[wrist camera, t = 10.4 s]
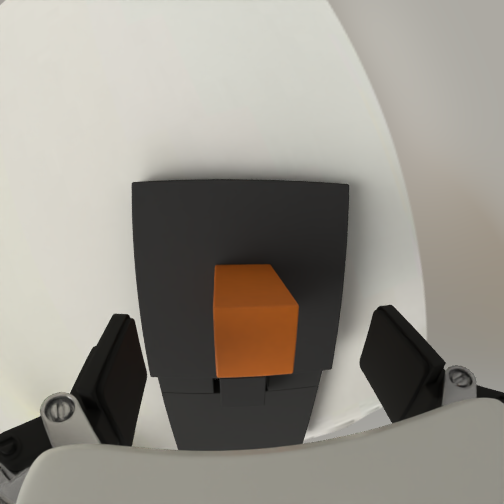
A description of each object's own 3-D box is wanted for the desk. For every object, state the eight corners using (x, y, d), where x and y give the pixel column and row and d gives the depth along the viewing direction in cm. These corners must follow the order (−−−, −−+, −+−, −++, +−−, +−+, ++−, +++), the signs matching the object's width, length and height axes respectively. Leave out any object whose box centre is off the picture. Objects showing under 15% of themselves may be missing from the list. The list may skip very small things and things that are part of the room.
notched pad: (299, 433, 24) (302, 444, 23) (179, 439, 23) (178, 451, 22) (319, 344, 21) (325, 356, 19) (157, 350, 19) (154, 363, 18)
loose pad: (320, 386, 20) (356, 456, 12) (160, 394, 18) (143, 471, 11) (339, 184, 17) (414, 183, 9) (138, 183, 15) (81, 178, 8)
